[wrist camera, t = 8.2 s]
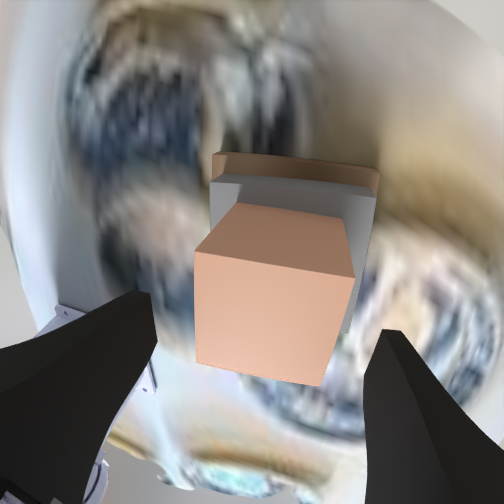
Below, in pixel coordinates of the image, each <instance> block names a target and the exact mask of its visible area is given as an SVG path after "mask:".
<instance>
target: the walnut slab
mask: <svg viewBox="0 0 504 504" xmlns="http://www.w3.org/2000/svg"><path fill="white" fill-rule="evenodd" d="M223 173H225V174H242V175H257V176H270V177H283V178H294V179H304V180H314V181H323V182H332V183H340V184H349V185H356V186H364V187H369V188H370V189H371V191H372V192H373V194H374V195H375V197H377V191H378V185H379V179H380V173H379V172H378V171H377V170H376V169H373V168H367V167H361V166H355V165H348V164H342V163H335V162H327V161H320V160H312V159H304V158H295V157H286V156H276V155H265V154H253V153H239V152H223V151H220V152H217V153H215V154H213V157H212V180H214V179H215V178H217V177H218V176H220V175H221V174H223Z"/></svg>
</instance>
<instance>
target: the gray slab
mask: <svg viewBox="0 0 504 504" xmlns="http://www.w3.org/2000/svg"><path fill="white" fill-rule="evenodd" d="M236 202H239V203H246V204H253V205H260V206H267V207H274V208H281V209H287V210H293V211H300V212H306V213H312V214H318V215H324V216H330V217H335V218H341V219H342V220H343V224H344V228H345V232H346V237H347V241H348V245H349V250H350V255H351V259H352V264H353V269H354V274H355V282H354V285H353V289H352V292H351V296H350V299H349V302H348V306H347V309H346V312H345V315H344V319H343V322H342V325H341V328H340V331H339V333H348V332H349V328H350V324H351V320H352V317H353V313H354V309H355V305H356V301H357V296H358V292H359V288H360V283H361V279H362V275H363V270H364V265H365V260H366V255H367V250H368V245H369V240H370V235H371V229H372V223H373V217H374V211H375V205H376V197H375V195H374V194H373V192H372V191H371V189H370V188H369V187H364V186H356V185H349V184H340V183H332V182H323V181H314V180H304V179H294V178H283V177H270V176H257V175H242V174H225V173H223V174H221V175H220V176H218V177H217V178H215V179H214V180H212V181H211V182H210V232H211V231H212V230H213V229H214V227H215V226H216V225H217V224H218V223H219V222H220V220H221V219H222V218H223V217H224V216H225V215H226V213H227V212H228V211H229V210H230V209H231V208H232V207H233V205H234V204H235V203H236Z"/></svg>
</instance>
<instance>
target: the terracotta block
mask: <svg viewBox="0 0 504 504" xmlns="http://www.w3.org/2000/svg"><path fill="white" fill-rule="evenodd" d="M354 282H355V274H354V269H353V264H352V259H351V255H350V250H349V245H348V241H347V237H346V232H345V228H344V224H343V220H342V219H341V218H335V217H330V216H324V215H318V214H312V213H306V212H300V211H293V210H287V209H281V208H274V207H267V206H260V205H253V204H246V203H239V202H236V203H235V204H234V205H233V207H232V208H231V209H230V210H229V211H228V212H227V213H226V215H225V216H224V217H223V218H222V219H221V220H220V222H219V223H218V224H217V225H216V226H215V227H214V229H213V230H212V231H211V232H210V233H209V234H208V236H207V237H206V238H205V239H204V240H203V241H202V243H201V244H200V245H199V246H198V247H197V249H196V250H195V251H194V304H195V342H196V363H199V364H204V365H208V366H212V367H216V368H220V369H225V370H229V371H234V372H239V373H243V374H248V375H253V376H258V377H264V378H269V379H275V380H280V381H286V382H293V383H299V384H306V385H313V386H320V385H321V382H322V379H323V377H324V374H325V371H326V369H327V366H328V363H329V360H330V357H331V355H332V352H333V349H334V346H335V343H336V340H337V337H338V334H339V331H340V328H341V325H342V322H343V319H344V315H345V312H346V309H347V306H348V302H349V299H350V296H351V292H352V289H353V285H354Z"/></svg>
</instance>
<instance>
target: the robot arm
mask: <svg viewBox="0 0 504 504" xmlns="http://www.w3.org/2000/svg"><path fill="white" fill-rule="evenodd" d="M55 311H56V314H57V315H56V316H55V317H54V318H53V319H52V320H51V321H50V322H49V323H48V324H47V325H46V326H45V327H44V328H43V329H42V330H41V331H40V332H39V333H38V334H37V335H36V336H35V337H34V338H33V339H30V340H28V341H25V342H22V343H19V344H15V345H12V346H9V347H5V348H2V349H0V504H100V503H101V501H102V499H103V497H104V495H105V492H106V490H107V486H108V473H107V467H106V465H105V463H103V462H102V460H103V459H104V457H105V455H106V452H104V451H103V450H102V449H101V447H102V445H103V443H104V442H105V440H106V438H107V436H108V435H109V433H110V431H111V430H112V428H113V426H114V425H115V423H116V421H117V420H118V418H119V416H120V415H121V413H122V411H123V410H124V408H125V406H126V405H127V403H128V402H129V400H130V398H131V397H132V395H133V393H134V392H135V390H139V391H142V392H145V393H148V394H151V395H154V394H155V392H156V388H155V385H154V381H153V377H152V373H151V369H150V365H149V360H150V358H151V355H152V353H153V351H154V349H155V346H156V344H157V342H158V340H157V335H156V329H155V323H154V317H153V310H152V304H151V297H150V293H146V292H141V291H137V290H133V291H130V292H128V293H126V294H124V295H122V296H120V297H118V298H116V299H114V300H112V301H110V302H108V303H106V304H104V305H102V306H101V307H99V308H97V309H95V310H93V311H91V312H89V313H87V314H86V313H83V312H80V311H77V310H74V309H71V308H68V307H65V306H62V305H59V304H58V305H56V306H55ZM363 409H364V422H365V434H366V448H367V486H366V496H365V504H504V450H503V449H501V448H500V447H499V446H498V445H497V444H496V443H495V442H494V441H492V440H491V439H490V438H489V437H488V436H487V435H486V434H485V433H484V432H483V431H482V430H481V429H480V428H479V427H478V426H477V425H476V424H475V423H474V422H473V421H472V420H471V419H470V418H469V417H468V416H467V415H466V414H465V412H464V411H463V410H462V409H461V408H460V407H459V406H458V404H457V403H456V402H455V401H454V399H453V398H452V397H451V396H450V395H449V393H448V392H447V391H446V390H445V388H444V387H443V386H442V385H441V383H440V382H439V381H438V380H437V378H436V377H435V376H434V374H433V373H432V372H431V370H430V369H429V368H428V366H427V365H426V364H425V362H424V361H423V359H422V358H421V357H420V355H419V354H418V353H417V351H416V350H415V349H414V347H413V346H412V344H411V343H410V342H409V340H408V339H407V338H406V337H405V335H404V334H403V333H402V332H401V331H399V330H388V329H382V331H381V334H380V337H379V339H378V342H377V344H376V347H375V350H374V352H373V355H372V357H371V360H370V362H369V364H368V367H367V369H366V372H365V374H364V386H363Z"/></svg>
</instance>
